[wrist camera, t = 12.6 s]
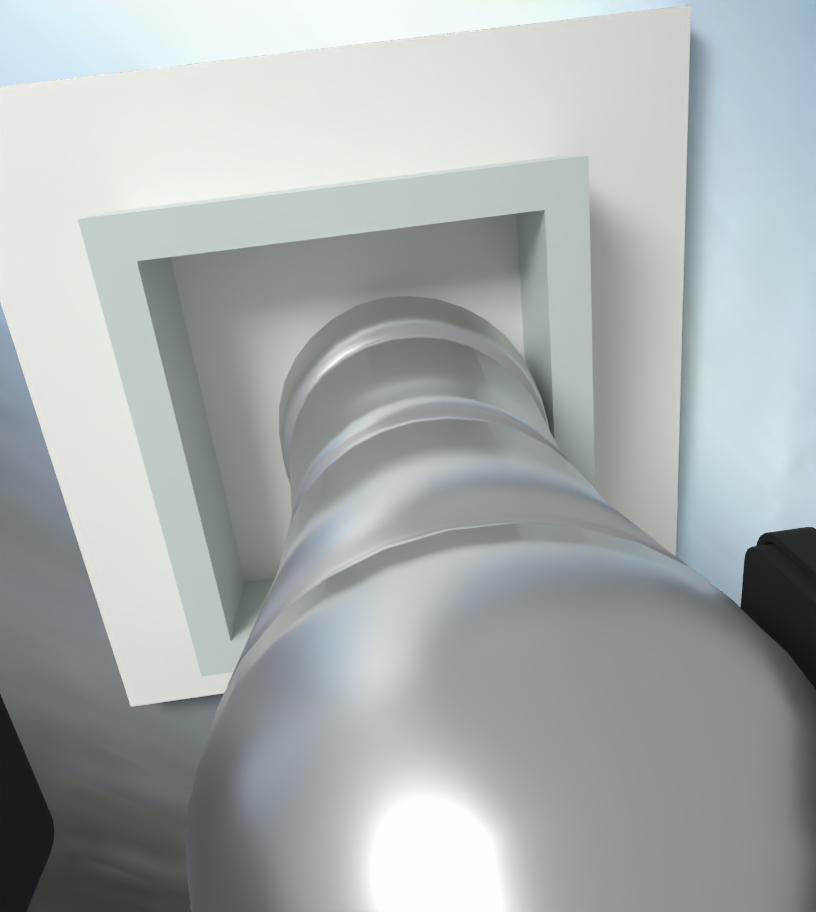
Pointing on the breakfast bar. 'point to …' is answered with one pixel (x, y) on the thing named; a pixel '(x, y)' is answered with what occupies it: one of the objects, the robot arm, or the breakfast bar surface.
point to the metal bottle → (487, 670)
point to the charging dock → (331, 282)
